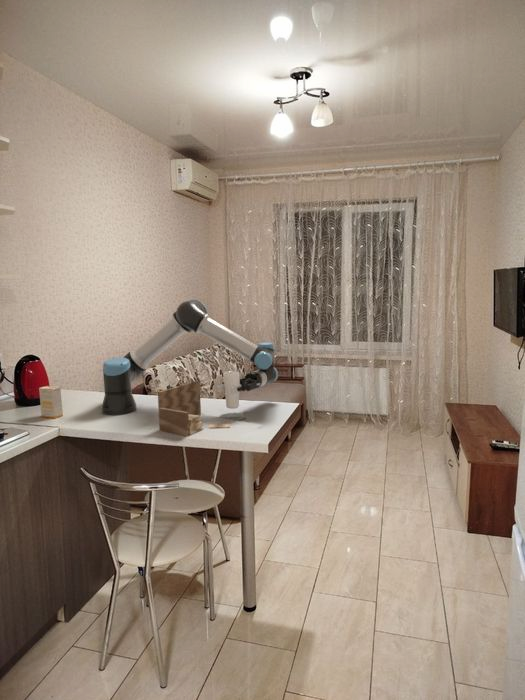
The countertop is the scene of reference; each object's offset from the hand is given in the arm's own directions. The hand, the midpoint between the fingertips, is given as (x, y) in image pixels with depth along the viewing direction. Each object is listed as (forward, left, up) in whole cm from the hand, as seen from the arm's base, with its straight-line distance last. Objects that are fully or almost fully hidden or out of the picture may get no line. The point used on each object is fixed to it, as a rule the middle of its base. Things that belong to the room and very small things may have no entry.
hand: (224, 390), depth 196 cm
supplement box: (-22, -75, -13) cm, 79 cm away
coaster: (-4, +3, -13) cm, 14 cm away
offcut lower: (+15, -14, -12) cm, 24 cm away
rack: (+7, -13, -13) cm, 20 cm away
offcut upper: (+15, -14, -9) cm, 22 cm away
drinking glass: (-4, +3, -9) cm, 10 cm away
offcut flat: (+11, -3, -14) cm, 18 cm away
